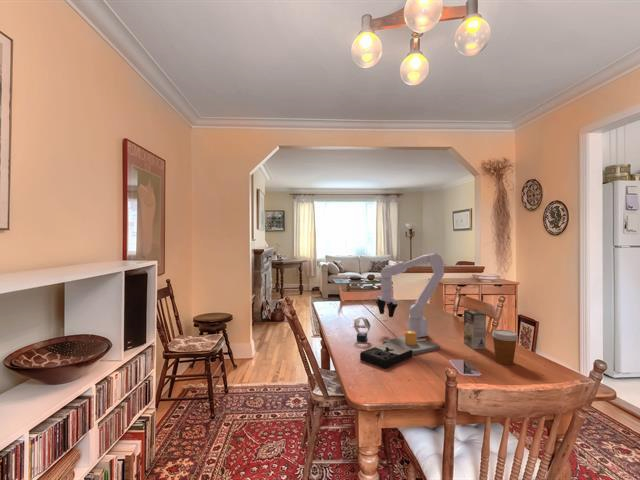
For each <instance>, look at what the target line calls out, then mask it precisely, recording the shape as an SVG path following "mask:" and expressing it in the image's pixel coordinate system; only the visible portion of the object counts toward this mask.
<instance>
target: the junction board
mask: <svg viewBox="0 0 640 480" xmlns="http://www.w3.org/2000/svg"><path fill="white" fill-rule="evenodd" d="M385 343H391V344H394V345H397V346H401V347H404V348H408V349H411V350H412V353H413V355H412V356H414V355H418V354H423V353H427V352H432V351H437V350H441V346H440V345H438V344H436V343H434V342H430V341H428V340H427V339H426V338H422V337H417V339H416V344H415V345H409V344H406V343H405V336H401V337H400V336H399V337H395V338H389V339H384V340H383V344H385Z"/></svg>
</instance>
